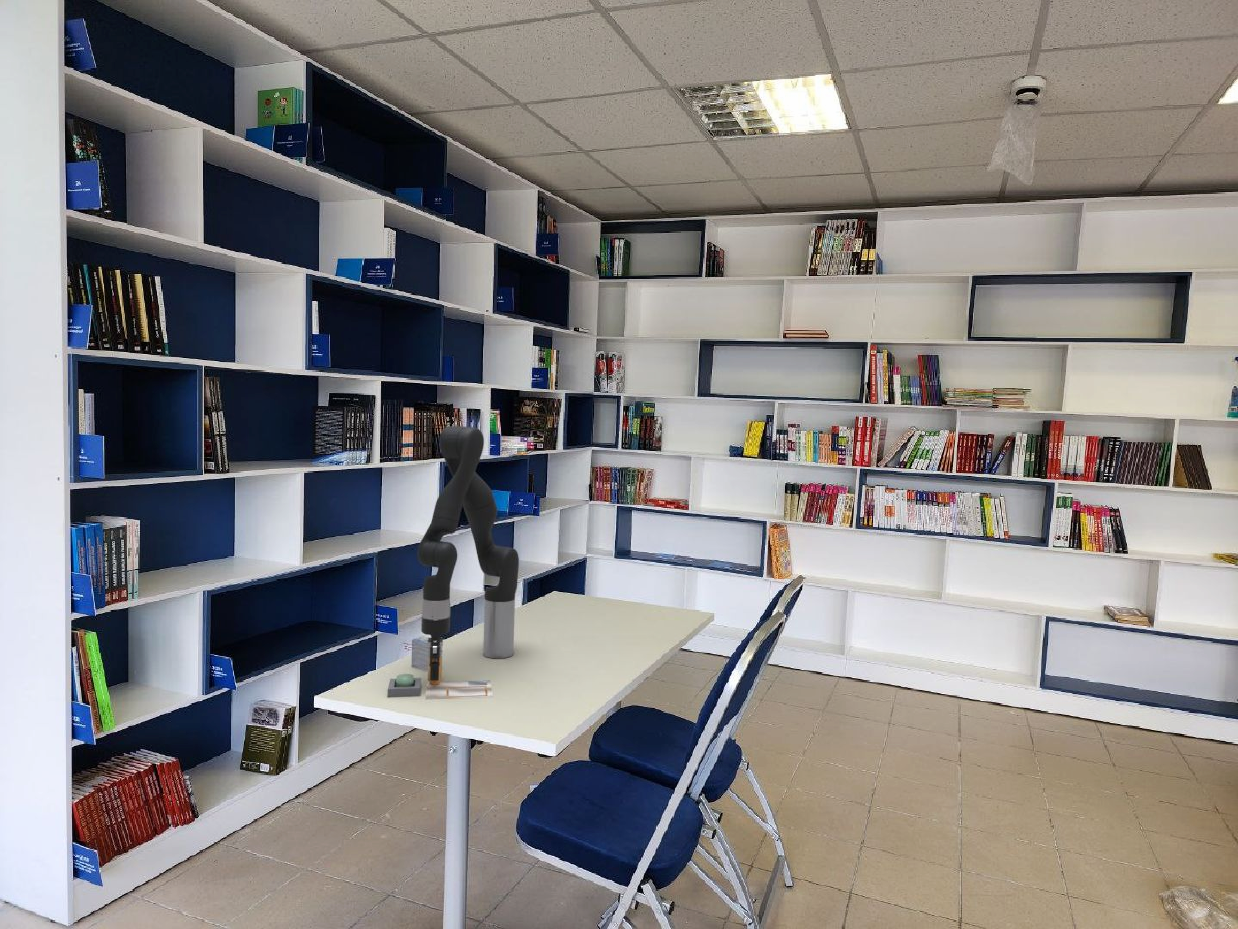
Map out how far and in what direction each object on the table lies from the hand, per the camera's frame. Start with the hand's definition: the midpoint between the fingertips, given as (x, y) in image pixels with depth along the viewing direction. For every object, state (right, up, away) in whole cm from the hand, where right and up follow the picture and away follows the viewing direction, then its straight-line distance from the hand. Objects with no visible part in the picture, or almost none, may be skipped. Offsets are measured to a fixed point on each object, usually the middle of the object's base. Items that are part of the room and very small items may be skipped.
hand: (434, 676), depth 216 cm
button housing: (-6, -3, -6) cm, 9 cm away
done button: (-6, -1, -6) cm, 9 cm away
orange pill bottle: (0, -2, 0) cm, 2 cm away
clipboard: (+7, -3, -3) cm, 9 cm away
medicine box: (-5, -2, +13) cm, 14 cm away
